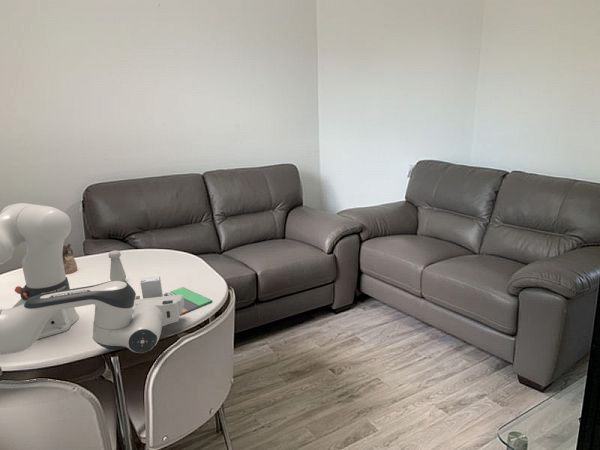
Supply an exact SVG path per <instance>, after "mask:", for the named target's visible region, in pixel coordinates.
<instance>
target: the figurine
mask: <svg viewBox="0 0 600 450" xmlns="http://www.w3.org/2000/svg"><path fill="white" fill-rule="evenodd" d="M71 245H72V244H71V243H68V244H64V243H63V250H62V257H63V264H64V270H65V276H66V275H70V274H74V273H76V272H77V271H78V265H77V262H76V259H75V257H74V255H73V254H74V251H73V249H72V248H71ZM69 251H70V253H69Z"/></svg>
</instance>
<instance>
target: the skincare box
mask: <svg viewBox="0 0 600 450" xmlns="http://www.w3.org/2000/svg"><path fill="white" fill-rule="evenodd" d="M140 279H141V280H140V288H141V294H142V299H144V298H153V297H162V296H163V295H164V294H163V288H162V282H161V281H162V280H161V276H160V275H155V276H147V277H141V278H140Z"/></svg>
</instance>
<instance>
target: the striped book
mask: <svg viewBox="0 0 600 450" xmlns="http://www.w3.org/2000/svg"><path fill="white" fill-rule="evenodd" d="M169 292H170V295H179V294H180V295H183V298H184V308H183V311H182V313H181V314H180V315H179V317H180V316H182V315H185V314H188V313H189V312H190V313H191V312H192V311H195V310H198V309H199V308H202V307H204V306H206V305H209V304H212V303H213V300H212V299H210V298H208V297H206V296H203V295H201V294H199V293H197V292H194V291H193V290H190V289H189V288H186V287H179V288H177V289H173V290H171V291H169ZM163 296H165V293H164V294H163Z"/></svg>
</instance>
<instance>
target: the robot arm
mask: <svg viewBox="0 0 600 450" xmlns="http://www.w3.org/2000/svg"><path fill="white" fill-rule="evenodd" d="M71 230H72V221H71V218H70V216H69V215H68V214H67V213H66V212H64V211H62V210H60V209H58V208H56V207H53V206H49V205H43V204H34V203H28V202H27V203H26V202H20V203H13V204H9V205H7V206H5V207H3V209H2V210H1V211H0V265H2V264H4V263H5V262H7V261H9V260H10V259H11V258H12V257H13V254H14V251H15V250H17V248H19V247H20V246H21V245H23V244H24V243H26V253H25V256H24V257H23V258H22V260H21V268H22V272H23V277H24V281H25V285H24V286H23V287H21V286H20V285H17V286H16V287H15V288H14V292H15V293H16V294H18V295H20V299H19V300H18V301H17V302H16V303H15V304H14V305H13V306H12V307H11V308H4V309H3V308H0V355H5V354H6V355H7V354H8V355H9V354H15V353H16V354H17V353H20V352H24V351H25V350H27V349H28V348H30V347H31V346H33V345H34V344H35V342H36V341H38V340H40V339H43V338H46V337H51V336H53V335H57V334H61V333H64V332H67V331H69V330H70V328H71V326H72V325H73V324H75V323H76V322H77V321H78V320H79V316H80V315H79V314H78V312H77V311H76V308H78V307H84V306H91V305H94V319H93V328H92V339H93V340H94V342H95V343H96V344H98V345H99V346H100V347H102V348H104V349H107V350H115V351H117V350H126V349H128V350H130V351H131V352H133V353H137V354H144V353H147V352H149V351H151V350H152V349H154V347H155V346H156V345H157V344H158V342H159V340H160V337H161V334H162V328H163V327H165V326H167V325H169V324H174V323H177V322H179V321H180V314H181V313H182V311H183V308H184V298H183V295H180V294H179V295H170V291H169V292H165V293H164V294H165V296H162V297H153V298H144V299H143V298H141V297H140V295H137V294H136V291H135V289H134V288H133V287H132V286H131V285H130V284H129V283H127V282H126V280H125V281H118V280H117V281H111V280H110V281H109V280H108V281H105V282H101V283H98V284H93V285H88V286H82V287H81V286H80V287H75V288H70V283H69V279H68V277H67V276H66V275H65V270H64V264H63V257H62V250H63V244H64V242H65V240H66V239H67V237H68V236H69V235H70V233H71Z"/></svg>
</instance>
